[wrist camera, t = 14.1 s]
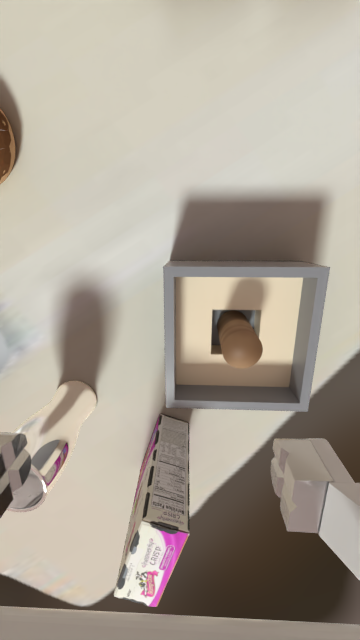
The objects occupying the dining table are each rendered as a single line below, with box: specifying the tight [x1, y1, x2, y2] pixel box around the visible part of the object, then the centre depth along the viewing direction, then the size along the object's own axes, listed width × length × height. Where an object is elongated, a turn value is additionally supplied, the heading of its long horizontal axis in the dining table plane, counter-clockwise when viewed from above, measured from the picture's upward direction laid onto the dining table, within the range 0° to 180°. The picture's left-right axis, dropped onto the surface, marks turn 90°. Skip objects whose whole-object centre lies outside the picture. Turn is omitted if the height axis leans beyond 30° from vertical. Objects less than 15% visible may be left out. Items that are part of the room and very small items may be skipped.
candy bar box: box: [114, 414, 189, 607], centre depth 34 cm, size 11×5×16 cm, turn 162°
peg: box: [217, 310, 263, 369], centre depth 31 cm, size 4×4×8 cm
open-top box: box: [163, 261, 330, 411], centre depth 32 cm, size 16×16×8 cm
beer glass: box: [6, 380, 97, 512], centre depth 33 cm, size 7×7×15 cm
